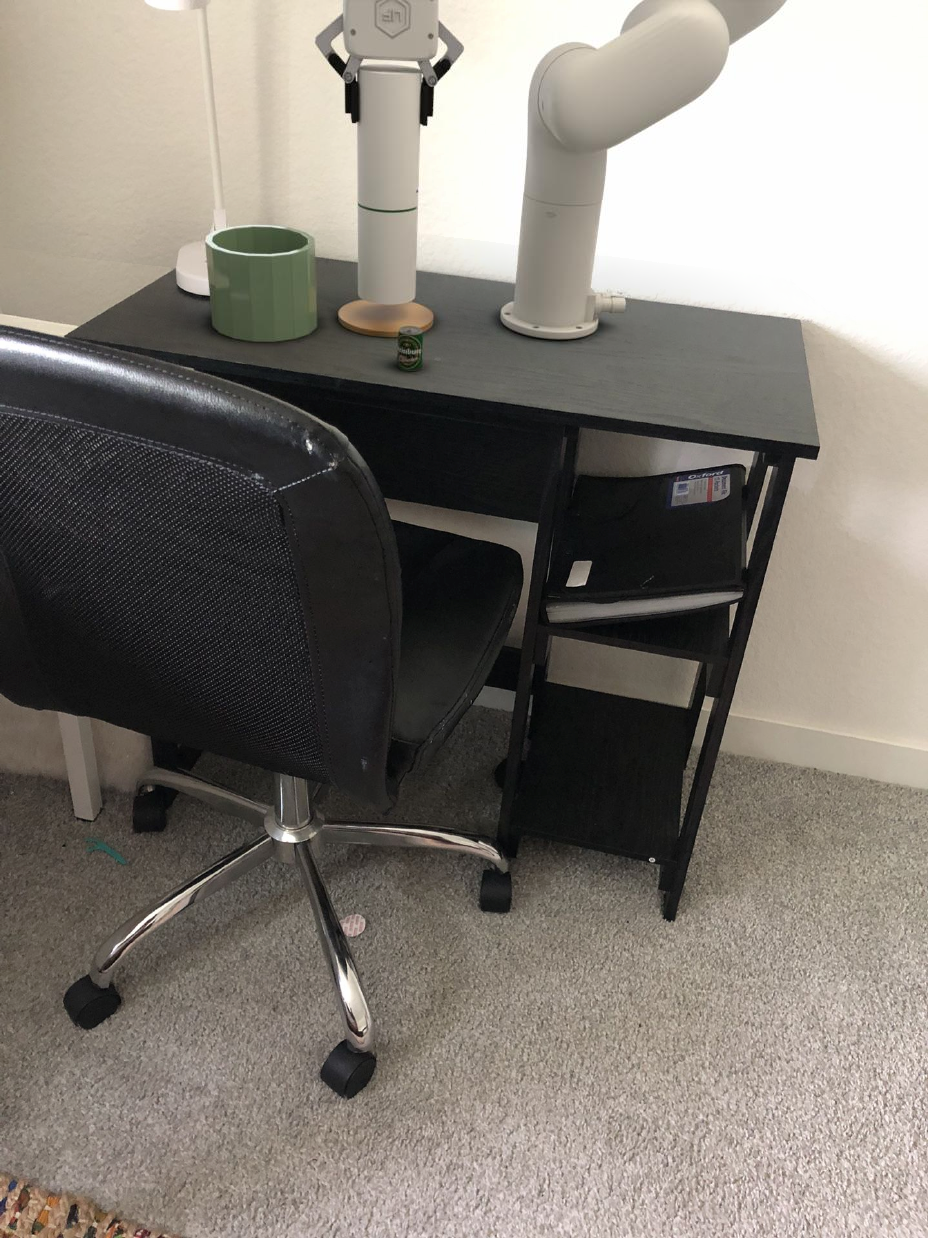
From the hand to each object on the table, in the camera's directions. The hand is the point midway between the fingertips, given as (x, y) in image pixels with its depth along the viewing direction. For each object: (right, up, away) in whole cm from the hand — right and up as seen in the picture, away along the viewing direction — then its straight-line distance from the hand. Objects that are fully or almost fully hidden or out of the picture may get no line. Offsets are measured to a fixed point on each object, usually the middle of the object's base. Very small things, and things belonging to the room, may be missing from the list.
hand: (388, 120), depth 114 cm
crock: (-16, -20, +10) cm, 27 cm away
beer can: (+2, -28, +2) cm, 28 cm away
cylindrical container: (-1, -16, +12) cm, 20 cm away
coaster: (-1, -19, +14) cm, 23 cm away
